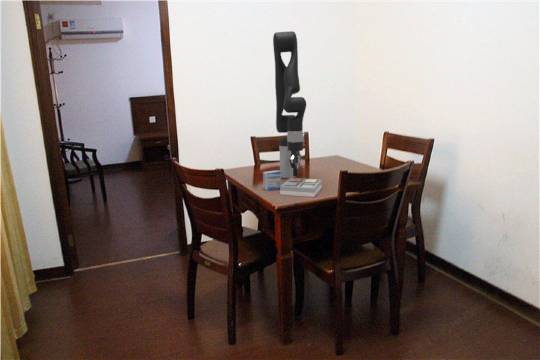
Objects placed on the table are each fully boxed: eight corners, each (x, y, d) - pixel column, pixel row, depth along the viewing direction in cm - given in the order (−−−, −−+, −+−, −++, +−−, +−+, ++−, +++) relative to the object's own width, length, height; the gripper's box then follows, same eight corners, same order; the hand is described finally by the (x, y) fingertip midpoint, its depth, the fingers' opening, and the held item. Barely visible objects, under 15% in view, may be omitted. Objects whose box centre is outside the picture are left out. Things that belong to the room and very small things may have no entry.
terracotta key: (292, 181, 198) (292, 178, 198) (302, 182, 197) (302, 178, 196) (289, 184, 194) (289, 180, 193) (299, 184, 192) (299, 181, 192)
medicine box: (266, 190, 194) (266, 173, 191) (263, 188, 198) (262, 171, 195) (281, 188, 197) (281, 171, 194) (277, 186, 201) (277, 169, 198)
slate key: (288, 185, 191) (288, 181, 191) (298, 185, 190) (298, 182, 189) (285, 188, 187) (284, 184, 186) (295, 188, 185) (295, 185, 185)
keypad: (290, 185, 201) (290, 178, 200) (321, 187, 196) (321, 179, 195) (280, 194, 187) (280, 186, 186) (314, 197, 181) (314, 188, 180)
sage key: (303, 187, 189) (303, 184, 189) (313, 188, 188) (313, 185, 187) (300, 190, 185) (300, 187, 184) (311, 191, 183) (311, 187, 183)
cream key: (307, 182, 196) (307, 178, 195) (317, 182, 194) (317, 179, 194) (304, 184, 191) (304, 181, 191) (314, 185, 190) (314, 182, 189)
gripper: (291, 138, 197) (292, 172, 201) (283, 142, 185) (284, 178, 189) (306, 138, 195) (306, 173, 199) (299, 142, 183) (299, 179, 187)
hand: (295, 175), depth 194 cm, fingers closed
